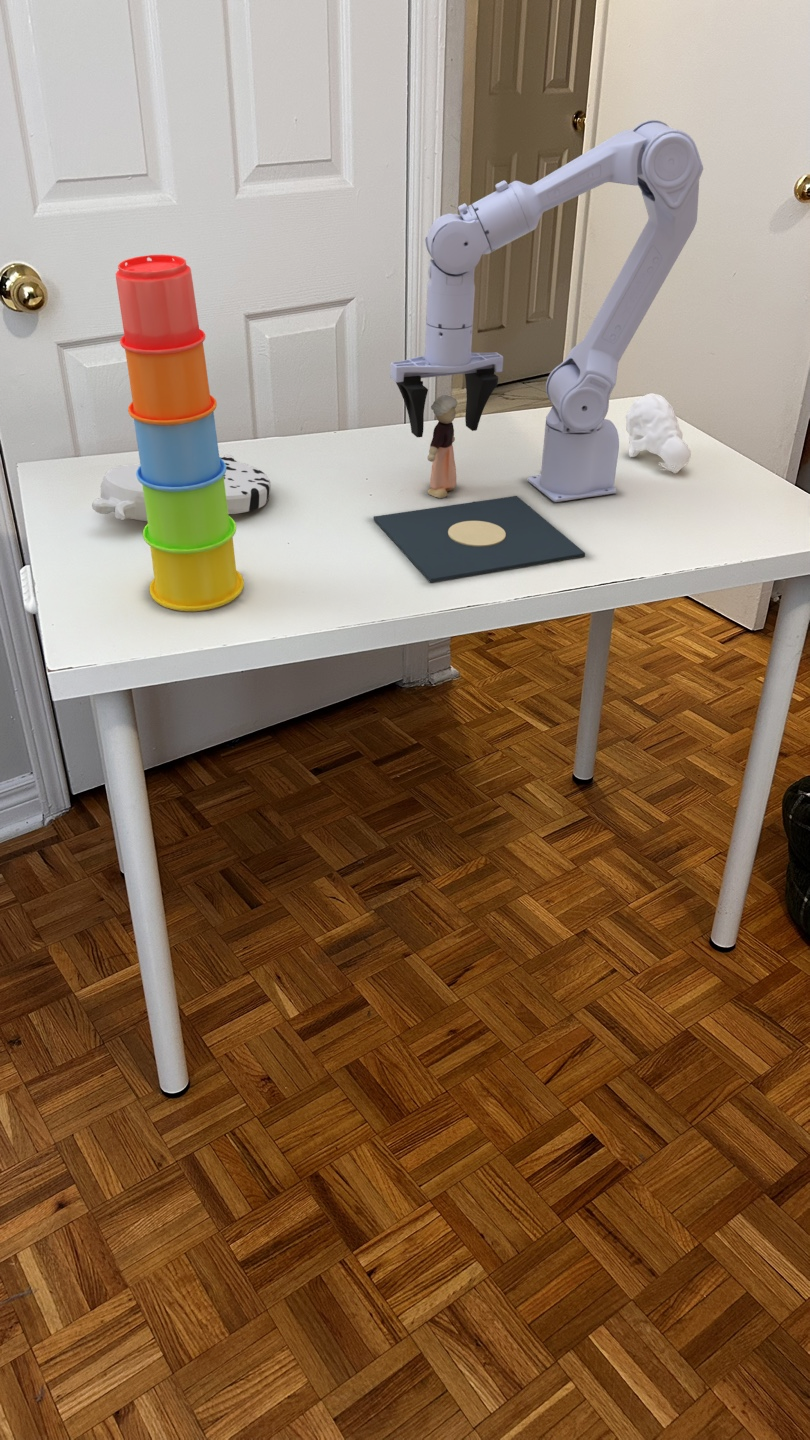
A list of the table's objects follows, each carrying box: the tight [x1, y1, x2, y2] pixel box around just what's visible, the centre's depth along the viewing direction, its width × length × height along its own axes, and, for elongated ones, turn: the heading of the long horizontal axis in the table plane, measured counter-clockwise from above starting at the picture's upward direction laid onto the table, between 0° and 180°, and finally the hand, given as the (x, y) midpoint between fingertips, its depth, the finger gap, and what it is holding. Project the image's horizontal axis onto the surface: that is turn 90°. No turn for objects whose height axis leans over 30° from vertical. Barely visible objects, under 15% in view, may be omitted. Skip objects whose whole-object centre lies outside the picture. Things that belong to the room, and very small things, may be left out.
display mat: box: [373, 495, 586, 583], centre depth 137 cm, size 20×18×1 cm
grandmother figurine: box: [427, 394, 458, 499], centre depth 146 cm, size 8×4×13 cm, turn 168°
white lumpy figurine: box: [625, 392, 692, 474], centre depth 157 cm, size 6×8×12 cm
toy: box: [91, 454, 272, 522], centre depth 142 cm, size 22×5×20 cm
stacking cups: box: [115, 254, 245, 612], centre depth 114 cm, size 10×10×35 cm
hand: (444, 431), depth 145 cm, fingers open, 7 cm apart
